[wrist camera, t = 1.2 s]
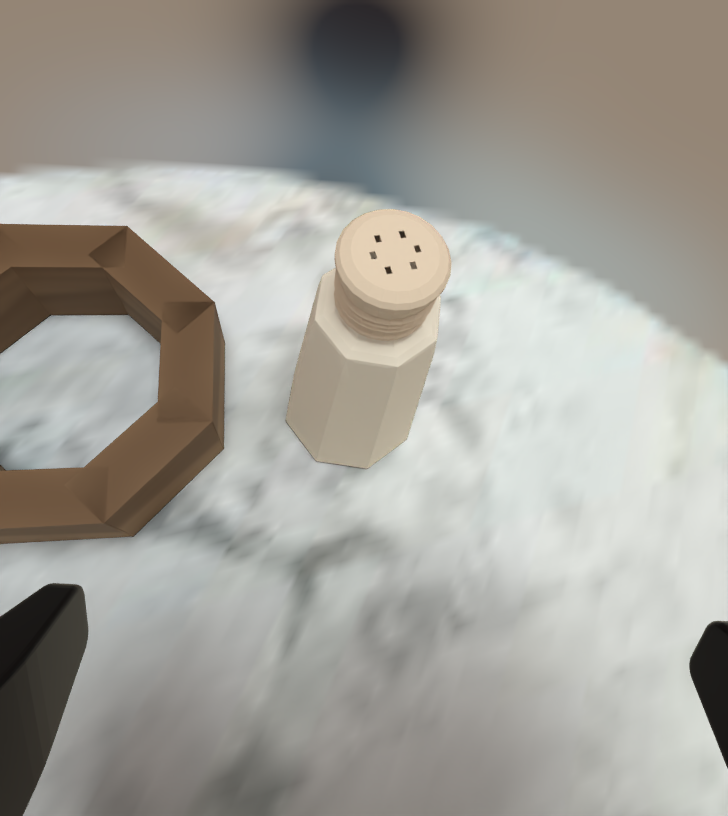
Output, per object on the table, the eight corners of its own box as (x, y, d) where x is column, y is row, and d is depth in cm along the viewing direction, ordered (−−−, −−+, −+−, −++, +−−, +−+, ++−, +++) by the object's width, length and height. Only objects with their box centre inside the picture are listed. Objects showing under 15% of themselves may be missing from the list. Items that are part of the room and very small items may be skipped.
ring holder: (61, 606, 20) (15, 606, 16) (-139, 403, 21) (-218, 366, 18) (281, 393, 23) (279, 358, 20) (97, 231, 25) (68, 174, 21)
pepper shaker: (301, 485, 22) (309, 380, 12) (271, 362, 24) (256, 174, 13) (429, 454, 23) (540, 332, 13) (393, 338, 25) (465, 147, 14)
